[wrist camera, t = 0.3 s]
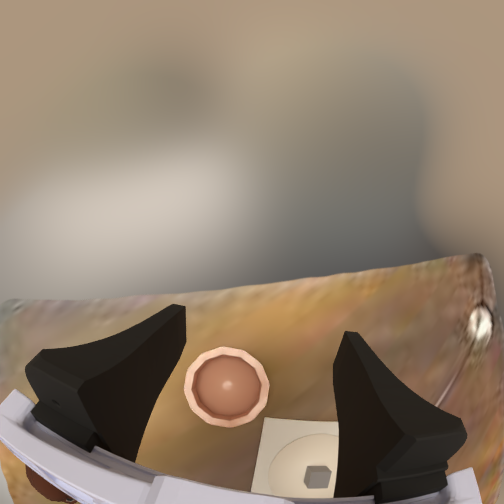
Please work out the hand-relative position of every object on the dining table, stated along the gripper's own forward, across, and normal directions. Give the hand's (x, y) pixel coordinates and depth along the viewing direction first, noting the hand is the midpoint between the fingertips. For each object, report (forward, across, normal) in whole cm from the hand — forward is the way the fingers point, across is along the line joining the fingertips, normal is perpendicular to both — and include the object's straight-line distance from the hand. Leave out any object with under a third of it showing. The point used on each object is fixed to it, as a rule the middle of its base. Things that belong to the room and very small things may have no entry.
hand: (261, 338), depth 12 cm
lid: (+9, -11, +34) cm, 37 cm away
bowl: (+18, +4, +24) cm, 30 cm away
